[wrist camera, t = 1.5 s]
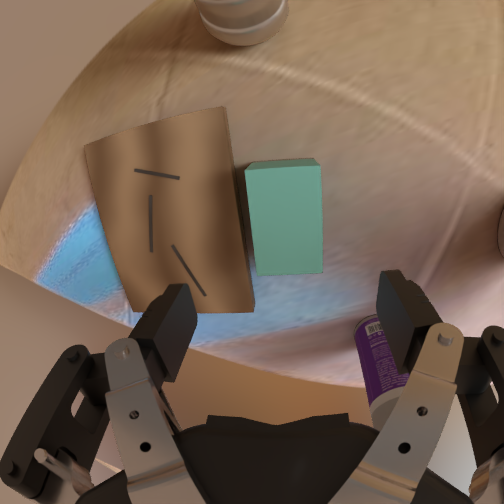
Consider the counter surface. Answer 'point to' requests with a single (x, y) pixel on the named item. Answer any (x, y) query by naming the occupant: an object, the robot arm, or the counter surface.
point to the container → (378, 370)
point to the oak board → (174, 211)
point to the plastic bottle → (243, 19)
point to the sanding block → (286, 216)
